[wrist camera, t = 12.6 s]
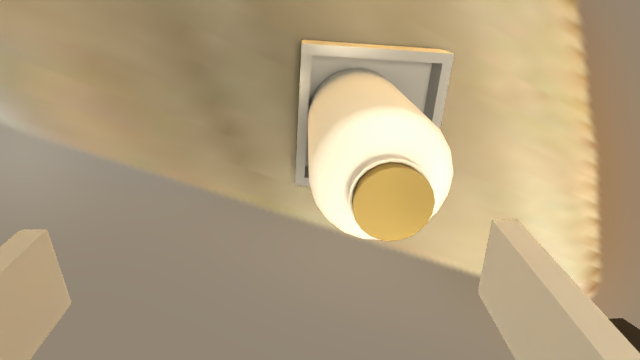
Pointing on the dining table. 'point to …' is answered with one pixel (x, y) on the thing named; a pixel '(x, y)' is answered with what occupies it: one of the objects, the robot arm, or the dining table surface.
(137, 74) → the dining table surface
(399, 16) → the dining table surface
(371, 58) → the grey square tray
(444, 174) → the potion bottle
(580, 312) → the robot arm
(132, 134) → the dining table surface
